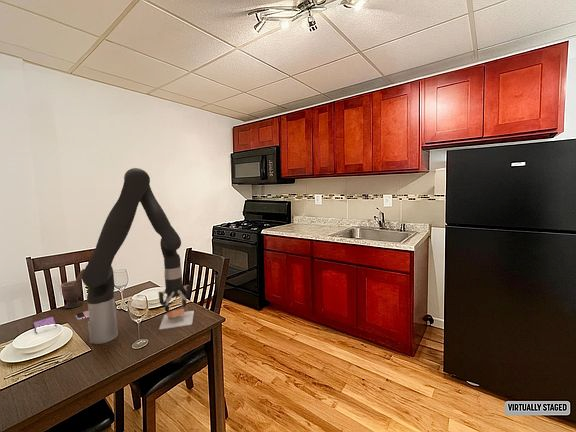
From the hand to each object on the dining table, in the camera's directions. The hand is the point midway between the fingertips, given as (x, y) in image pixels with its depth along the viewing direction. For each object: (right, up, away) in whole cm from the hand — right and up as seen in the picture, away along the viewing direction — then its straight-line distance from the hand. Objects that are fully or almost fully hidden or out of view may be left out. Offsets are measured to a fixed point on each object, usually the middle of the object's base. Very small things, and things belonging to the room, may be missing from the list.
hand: (176, 309), depth 129 cm
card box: (-3, -3, +3) cm, 5 cm away
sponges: (-60, -8, -3) cm, 61 cm away
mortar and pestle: (-62, -5, +19) cm, 65 cm away
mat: (+1, -5, 0) cm, 5 cm away
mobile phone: (-47, -6, +10) cm, 48 cm away
